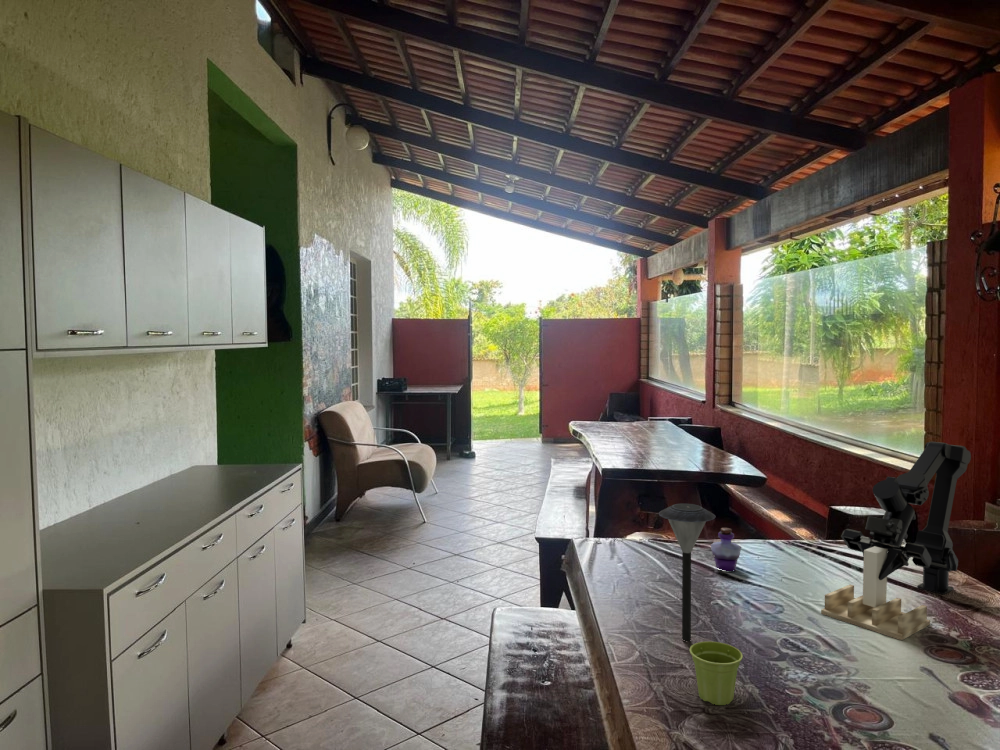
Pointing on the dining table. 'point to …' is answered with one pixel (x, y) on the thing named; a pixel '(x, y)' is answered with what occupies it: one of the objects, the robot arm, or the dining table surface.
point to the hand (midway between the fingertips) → (872, 577)
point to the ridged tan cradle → (875, 614)
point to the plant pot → (716, 670)
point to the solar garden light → (686, 548)
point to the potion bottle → (726, 551)
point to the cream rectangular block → (874, 577)
